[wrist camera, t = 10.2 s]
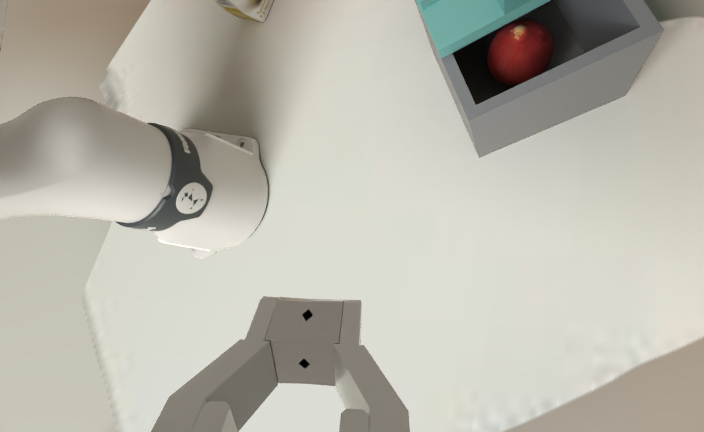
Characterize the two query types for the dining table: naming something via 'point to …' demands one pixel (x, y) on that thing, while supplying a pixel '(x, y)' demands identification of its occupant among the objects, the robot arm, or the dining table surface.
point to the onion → (520, 51)
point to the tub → (561, 74)
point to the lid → (469, 19)
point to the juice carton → (247, 8)
